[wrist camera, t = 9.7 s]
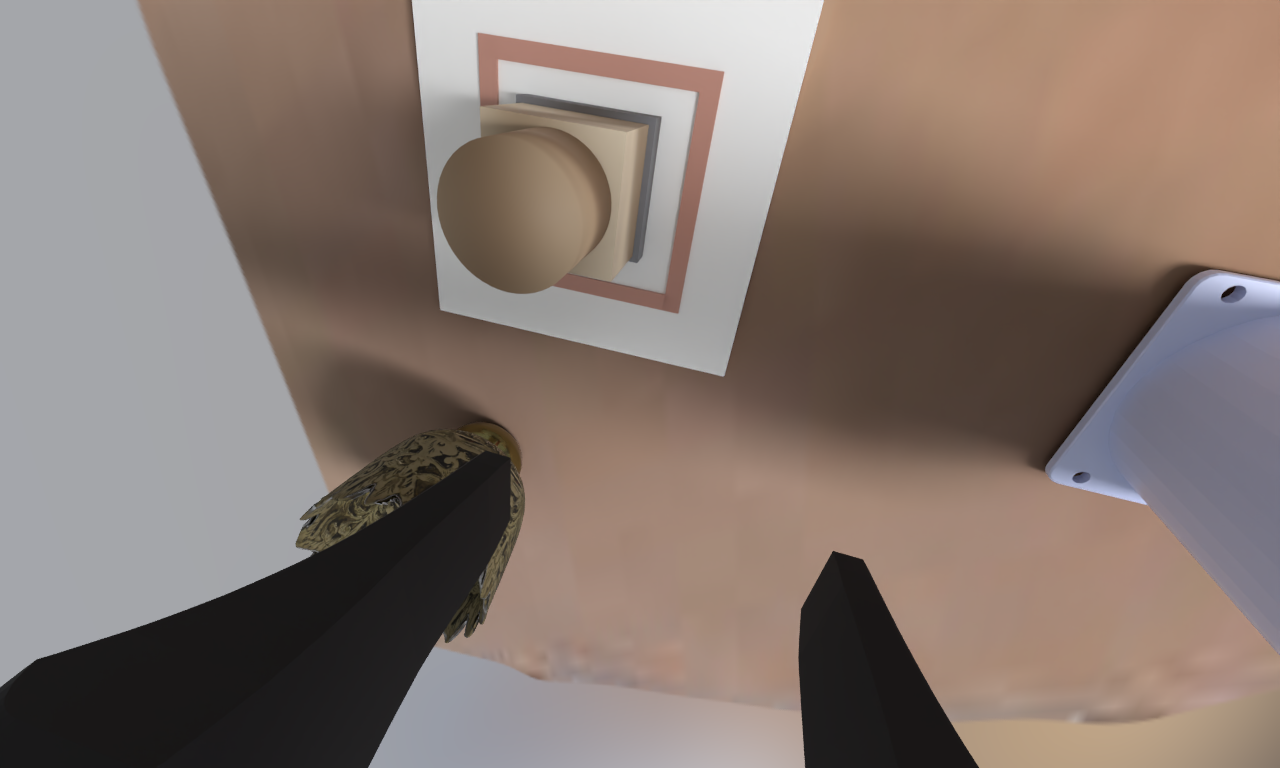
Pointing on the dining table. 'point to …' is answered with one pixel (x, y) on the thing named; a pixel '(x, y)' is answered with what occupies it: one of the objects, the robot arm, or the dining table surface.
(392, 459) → the cup
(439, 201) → the stamp
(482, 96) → the card sheet
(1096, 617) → the dining table surface
